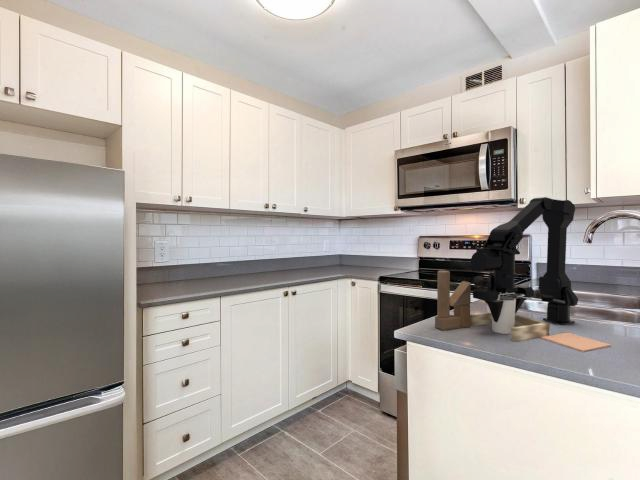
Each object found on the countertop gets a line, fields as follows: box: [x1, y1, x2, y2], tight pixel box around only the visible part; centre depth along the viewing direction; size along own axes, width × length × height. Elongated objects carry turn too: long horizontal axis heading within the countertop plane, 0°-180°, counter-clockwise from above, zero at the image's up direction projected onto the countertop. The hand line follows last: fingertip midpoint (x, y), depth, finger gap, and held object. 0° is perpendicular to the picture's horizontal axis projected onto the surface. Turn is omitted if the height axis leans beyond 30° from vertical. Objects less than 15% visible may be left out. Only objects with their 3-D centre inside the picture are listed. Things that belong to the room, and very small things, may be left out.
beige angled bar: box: [470, 311, 550, 342], centre depth 102 cm, size 14×16×4 cm
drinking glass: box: [491, 296, 516, 335], centre depth 102 cm, size 7×7×10 cm
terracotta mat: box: [540, 332, 612, 353], centre depth 91 cm, size 11×11×1 cm
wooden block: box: [434, 269, 472, 331], centre depth 105 cm, size 4×11×18 cm, turn 108°
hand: (503, 321), depth 102 cm, fingers closed on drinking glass, 5 cm apart
